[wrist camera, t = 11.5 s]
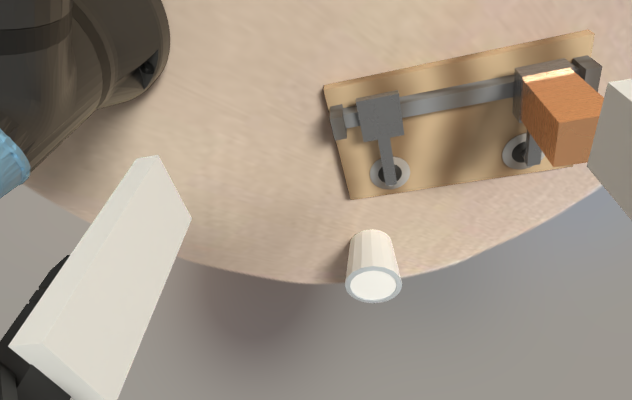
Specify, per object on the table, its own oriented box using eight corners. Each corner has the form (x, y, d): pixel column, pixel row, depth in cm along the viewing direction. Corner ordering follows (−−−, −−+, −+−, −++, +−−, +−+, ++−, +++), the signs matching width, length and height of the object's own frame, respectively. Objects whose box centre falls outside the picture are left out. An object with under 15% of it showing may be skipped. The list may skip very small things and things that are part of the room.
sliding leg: (505, 159, 43) (543, 230, 35) (509, 62, 37) (558, 119, 28) (546, 153, 42) (595, 223, 34) (558, 52, 36) (622, 108, 27)
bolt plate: (350, 193, 49) (350, 214, 46) (324, 85, 41) (322, 102, 38) (567, 160, 44) (584, 181, 41) (588, 29, 36) (610, 44, 33)
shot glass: (334, 245, 55) (332, 287, 50) (370, 217, 51) (372, 258, 46) (371, 269, 57) (373, 311, 52) (407, 243, 54) (414, 285, 48)
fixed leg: (372, 180, 46) (373, 191, 44) (355, 93, 39) (355, 102, 38) (408, 175, 45) (410, 185, 44) (397, 85, 39) (399, 93, 37)
